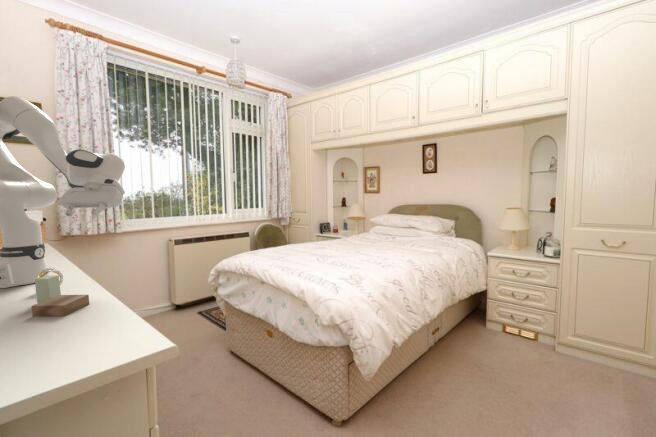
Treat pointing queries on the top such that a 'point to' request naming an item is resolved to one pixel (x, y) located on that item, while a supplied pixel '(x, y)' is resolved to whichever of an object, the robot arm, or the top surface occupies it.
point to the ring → (51, 271)
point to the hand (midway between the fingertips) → (81, 214)
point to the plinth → (60, 305)
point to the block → (47, 287)
